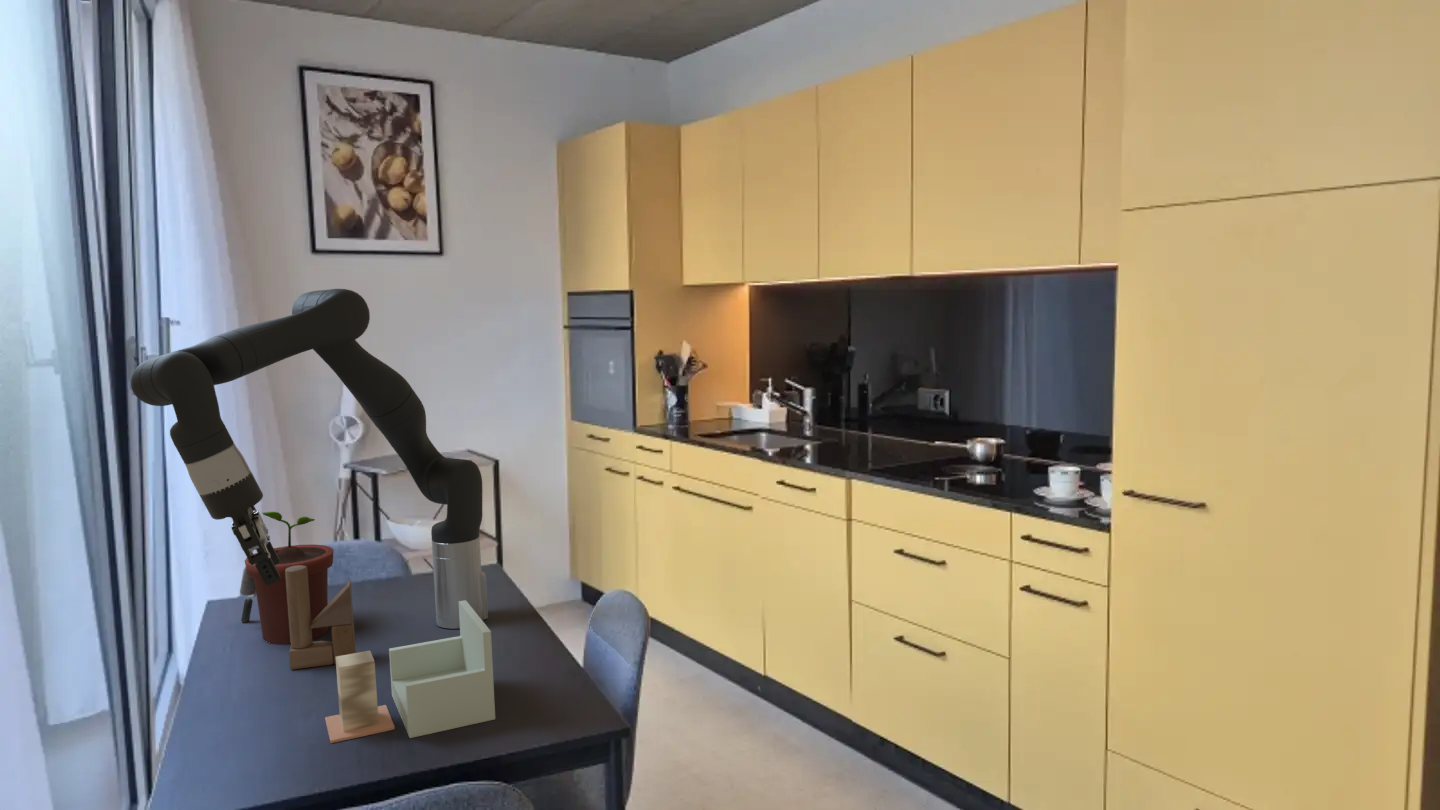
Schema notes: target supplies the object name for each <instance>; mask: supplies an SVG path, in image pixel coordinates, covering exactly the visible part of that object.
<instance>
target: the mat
mask: <svg viewBox="0 0 1440 810" xmlns="http://www.w3.org/2000/svg"><path fill="white" fill-rule="evenodd" d="M377 706H378V721H379V724H378V725H373V726H369V727H364V728H359V729H355V730H350V731H346V732H343V728H342V725H341V721H340V714H335V715H329V716H325V717H324V719H325V725H326V729H327V734H328V738H329V742H330V744H334V743H339V742H343V741H348V740H351V739H356V738H361V737H365V736H369V735H375V734H380V733H384V732H389V731H392V730H393V731H394V730H395V728H396V727H395V724H394V722H393V720H392V717H391V713H390V711H389V709H388V706H387V705H386V704H384V705H377Z"/></svg>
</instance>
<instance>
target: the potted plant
mask: <svg viewBox="0 0 1440 810" xmlns="http://www.w3.org/2000/svg"><path fill="white" fill-rule="evenodd" d="M261 513H262V515H263V516H265V517H268V518H271V519H273V520H275V521H278V522H282V523H284V524H285V525H286V526H287V527H288V539H287V541H288V542H287V545H286V546H279V547H273V548H274V550H275V552H276V554H277V556H278V557H279V561H280V562H279V563H278V564H277V565H275V567H276V569H277V571H278V573H279V575H280V580H279V581H277V582H275V583H273V584H271V585H266V584H265V583H264V581H263V579H262V577H261V575H260V573H259V572H258V570H257V568H256V566H255V565H251V564H250V563H249V562H248V558H247V557H246V558H245V560H244V564H245V566H244V567H243V570H242V577H241V581H240V587H239V593H240V594H241V595H242V596H247V598H245V599H244V602H243V607H242V614H241V619H240V621H241V622H242V623H243V622H247V621H249V622H250V619H251V613H252V607H253V602H254V600H253V599H254V598H256V599H257V607H258V614H259V620H260V627H261V633H262V639H264V640H265V641H267V642H270V643H275V644H274V645H289V644H288V643H290V629H289V616H288V603H287V589H286V576H285V570H286V568H288V567H291V566H297V565H303V566H306V567H307V573H308V587H309V601H310V614H311V623H312V621H313V620H314V619H315V618H316V617H317V616H318V615H319V614H320V612H321V611H322V610H323V609H324V608H325V607H326V606H327V605H328V604H329V603H328V600H329V599H328V582H329V581H328V578H329V577H328V569H330V568H331V567H333V564H334V548H333V547H331V546H328V545H325V544H311V543H310V544H294V545H292V538H291V537H292V531H291V530H292V529H293V528H294V527H296V526H302V525H305V524H309V523H310V522H314V521H315V520H316V519H314V518H311V517H308V516H300V517H299V518H297V520H296V523H295V524H290V523H289V522H288V521H286V520H285V519H283V516H282V514H281V513H280V512H278V511H265V512H263V511H262V512H261ZM253 554H254V555H256V554H258V552H256V553H253ZM252 598H253V599H252ZM247 623H248V622H247ZM328 628H329V626H328V627H320V628H312V640H314V639H317V638H319V637H321V636H324V635H325V634H326V633H327V632H328ZM264 640H263V641H264ZM265 641H264V642H265ZM267 642H266V643H267ZM270 643H269V644H270Z"/></svg>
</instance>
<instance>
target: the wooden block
mask: <svg viewBox="0 0 1440 810" xmlns="http://www.w3.org/2000/svg"><path fill="white" fill-rule="evenodd" d="M285 576H286V589H287V603H288V616H289V629H290V643H291V644H290V647H289V649H288V650H289V651H288V657H289V658H288V659H289V669H290V670H292V671H293V670H299V669H306V668H316V667H324V666H331V665H333V664H334V665H336V656H342V655H348V654H353V653H357V649H356V636H355V633H356V632H355V620H354V608H353V607H354V606H353V595H352V594H353V593H352V580H349V581H348V582H347V583H346V584H345V585H344V587H342V589H340V591H339V592H337V594H336V595H335V596H334V597H333V598H332V600H330V602H329V603H328V605H327V606H326V607H325V608H324V609H323V610H322V611H321V612H320V614H319V615H318V616H317V617H316V618H315V619H314V620H313V621H312V623H311V614H310V601H309V587H308V573H307V567H306V566H303V565H297V566H291V567H288V568H286V570H285ZM320 627H328V628H329V627H331V630H330V631H331V641H325V640H317V641H313V639H312V628H320Z"/></svg>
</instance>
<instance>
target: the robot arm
mask: <svg viewBox="0 0 1440 810" xmlns="http://www.w3.org/2000/svg"><path fill="white" fill-rule="evenodd" d="M370 317H371V316H370V309H369V305H368V303H367V302H366V300H365V298H364V297H363V296H362V295H360V294H359V293H358V292H356V291H354V290H351V289H346V288H332V289H322V290H321V289H320V290H313V291H308V292H305V293H302V294H300V295H299V296H297V298H296V299H295V300H294V302H293V305H292V309H291V315H286V316H283V317H280V318H276V319H270V320H265V321H262V322H257V323H253V324H249V325H246V326H242V327H238V328H234V329H231V330H229V331H226V332H224V333H220V334H217V335H214V336H213V337H212V336H211V337H210V338H208V339H206V340H204V341H202V342H199V343H196V344H195V345H192V346H189V347H186V348H185V347H184V348H182V349H178V350H175V351H171V352H168V353H165V354H161V355H158V356H155V357H151V358H149V359H146V360H144V361H142V362H141V363H140V364H139V365H137V367H136V368H135V369H134V371H133V373H132V375H131V379H130V387H131V389H132V392H133V394H134V396H135V397H136V398H137V399H138V400H140V401H141V402H143V403H144V404H148V405H150V406H154V407H165V406H170V405H172V407H173V410H174V414H175V417H176V420H177V421H176V422H175V423H174V424H173V425H172V426H171V427H170V429H169V436H170V438H171V440H172V443H173V445H174V447H175V448H176V450H177V452H178V454H179V456H180V458H181V459H182V461H183V464H184V465H185V467H186V470H187V473H188V476H189V478H190V480H191V482H192V483H193V486H194V488H195V490H196V491H197V493H198V495H199V496H200V499H201V501H202V502H203V504H204V506H205V508H206V510H207V511H208V513H209V515H210V517H211V518H212V519H214V520H217V521H218V520H219V521H220V520H225V519H226V518H231V519H232V522H231V524H232V525H231V531H232V533H233V535H234V536H235V538H236V539H237V540H238V543H239V545H240V548H241V550H242V551H243V552H244V554H245V556H246V558H248V562H249V563H250V564H251V565H255V566H256V568H257V570H258V572H259V573H260V575H261V577H262V579H263V581H264V583H265V584H266V585H271V584H273V583H275V582H277V581H279V580H280V575H279V573H278V571H277V569H276V567H275V565H277V564H278V563H279V562H280V561H279V557H278V556H277V554H276V552H275V550H274V548H275V547H273V544H272V543H271V536H270V535H269V529H268V528H267V525H266V523H265V521H264V520H263V518H262V515H261V513H260V512H259V511H257V509H256V507H255V506H256V505H257V504H258V503H259V502H261V500H262V498H263V497H264V494H263V491H262V490H261V488H260V485H259V484H258V482H257V480H256V478H255V476H254V474H253V472H252V471H251V468H250V467H249V465H248V462H247V461H246V459H245V457H244V456H243V454H242V452H241V451H240V450H239V448H238V446H237V445H236V444H235V442H234V440H233V438H232V436H231V435H230V433H229V430H228V429H227V427H226V425H225V423H224V421H223V420H222V417H221V411H220V406H219V402H218V396H217V393H216V389H215V386H217V385H222V384H226V383H230V382H232V381H235V380H237V379H240V378H243V377H245V376H247V375H250V374H253V373H255V372H257V371H260V370H262V369H264V368H266V367H268V366H272V365H273V364H276V363H279V362H281V361H283V360H286V359H288V358H291V357H295V356H296V355H299V354H301V353H305V352H307V351H311V350H312V351H314V352H315V354H317V355H318V357H320V358H321V360H322V361H324V362H325V363H326V364H327V365H328V367H329V368H330V369H331V370H332V371H333V372H334V373H335V375H337V377H338V378H339V380H340V381H341V382H342V383H343V385H344V386H345V387H346V389H347V390H348V391H349V393H351V395H352V396H353V397H354V399H355V400H356V401H357V402H358V403H359V405H360V407H362V409H363V411H364V412H365V414H366V415H367V417H369V419H370V420H371V423H373V424H374V426H375V427H376V428H377V430H378V431H379V432H380V433H381V434H382V435H383V437H384V438H385V439H386V440H387V442H388V443H389V444H390V446H391V447H392V449H393V450H394V451H395V453H396V454H397V456H398V457H399V458H400V460H401V461H402V462H403V464H404V465H405V467H406V469H407V470H408V472H409V474H410V476H411V477H412V480H413V481H414V483H415V484H416V487H417V488H418V490H419V491H420V492H421V494H422V495H423V496H424V497H425V499H427V500H429V502H432V503H435V504H439V505H440V504H441V505H446V517H445V519H444V520H441V521H439V522H436V523H435V524H433V525H432V527H431V534H430V536H431V551H432V566H433V570H432V571H433V585H434V586H433V587H434V601H435V602H434V603H435V604H434V605H435V619H436V625H437V626H438V627H440V628H443V629H454V630H456V629H460V620H459V601H464V600H466V601H467V602H468V604H469V605H470V606H471V607H472V609H473V610H474V611H475V612H476V613H477V615H478V616H479V617H480V618H481V620H482V621H483V622H484V620H486V619H489V611H488V595H487V593H488V592H487V576H486V572H485V571H482V559H481V557H482V556H481V542H480V541H481V540H480V536H481V535H480V528H481V526H482V522H483V479H482V478H483V477H482V474H481V473H482V472H481V471H480V468H479V466H478V465H477V463H475V461H472V460H470V459H465V458H453V457H452V458H451V457H445V456H444V455H443V454H441V452H440V451H439V450H438V449H437V447H435V445H434V444H433V442H432V441H431V440H430V438H429V436H428V434H427V416H426V415H427V414H426V410H425V406H424V404H423V402H422V400H421V399H420V397H419V396H418V395H417V393H416V392H415V390H414V389H413V388H412V386H411V385H410V384H409V382H408V381H407V379H406V378H405V377H403V376H402V374H401V373H399V372H398V371H397V370H395V369H393V368H392V367H391V366H389V365H388V364H387V363H385V362H384V361H382V360H381V359H378V358H377V357H376V356H374V355H372V354H371V353H370V352H368V351H367V350H366V349H365V348H364V347H362V345H360V343H359V342H358V341H357V339H358V338H360V337H362V336H363V335H364V333H365V332H366V331H367V329H368V327H369V325H370V324H369V323H370ZM254 551H256V553H258V554H256V555H254V554H255V553H254Z"/></svg>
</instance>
